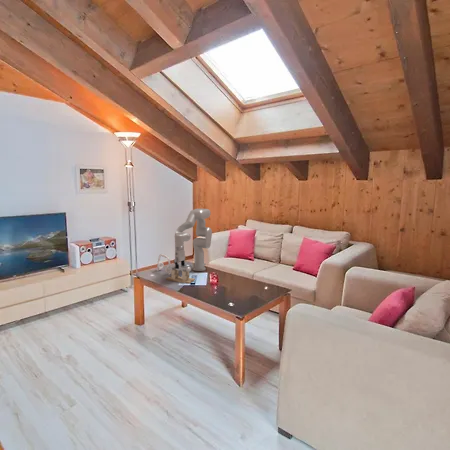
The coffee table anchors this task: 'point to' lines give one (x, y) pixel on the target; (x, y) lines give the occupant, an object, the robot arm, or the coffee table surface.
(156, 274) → the coffee table surface
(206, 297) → the coffee table surface
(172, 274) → the rack
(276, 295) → the coffee table surface
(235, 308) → the coffee table surface
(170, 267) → the spanner
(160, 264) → the headset
